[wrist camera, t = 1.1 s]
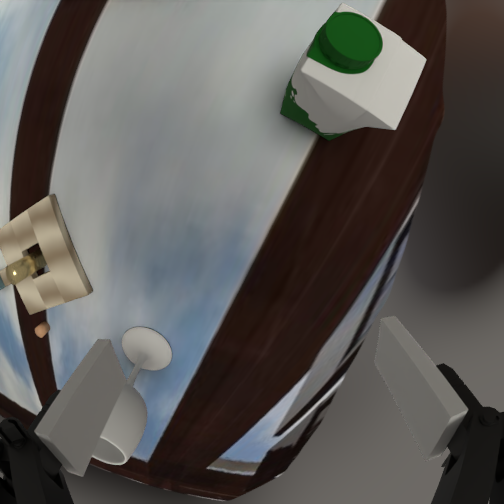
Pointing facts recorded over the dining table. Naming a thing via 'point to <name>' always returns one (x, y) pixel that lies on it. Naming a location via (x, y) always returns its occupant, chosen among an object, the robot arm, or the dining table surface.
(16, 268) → the post
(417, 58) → the milk carton
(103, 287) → the dining table surface
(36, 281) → the light wooden flat board
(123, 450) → the wineglass
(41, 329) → the dowel
